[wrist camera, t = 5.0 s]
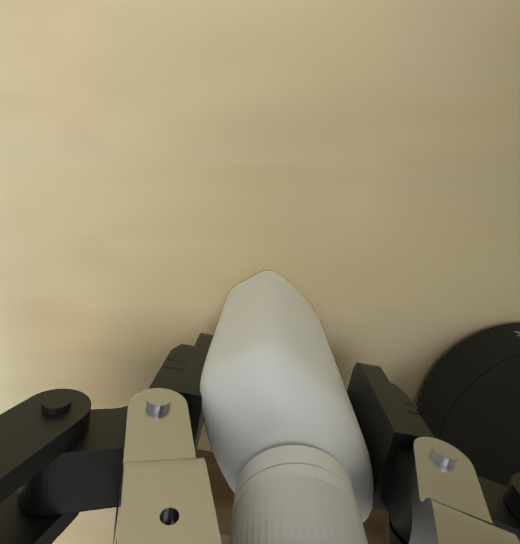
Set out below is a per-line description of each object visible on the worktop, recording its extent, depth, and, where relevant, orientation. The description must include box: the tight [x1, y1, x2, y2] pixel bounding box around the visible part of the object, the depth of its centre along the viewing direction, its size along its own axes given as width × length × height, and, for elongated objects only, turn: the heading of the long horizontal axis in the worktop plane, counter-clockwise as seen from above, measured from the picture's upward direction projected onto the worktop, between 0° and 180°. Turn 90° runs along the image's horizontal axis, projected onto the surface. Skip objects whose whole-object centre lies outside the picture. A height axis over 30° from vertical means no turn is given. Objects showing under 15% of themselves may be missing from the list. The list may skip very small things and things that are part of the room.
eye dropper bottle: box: [200, 270, 374, 544], centre depth 10 cm, size 4×6×12 cm
